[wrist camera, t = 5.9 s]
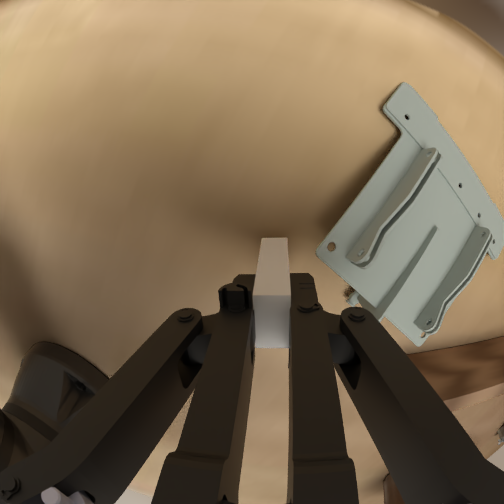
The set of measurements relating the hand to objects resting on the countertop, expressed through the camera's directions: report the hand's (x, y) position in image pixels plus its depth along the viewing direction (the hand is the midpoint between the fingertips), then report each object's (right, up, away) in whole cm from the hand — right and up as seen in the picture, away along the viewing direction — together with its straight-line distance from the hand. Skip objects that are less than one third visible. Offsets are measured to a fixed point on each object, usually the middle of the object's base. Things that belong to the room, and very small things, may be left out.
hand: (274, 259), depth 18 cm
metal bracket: (+10, +2, +1) cm, 10 cm away
